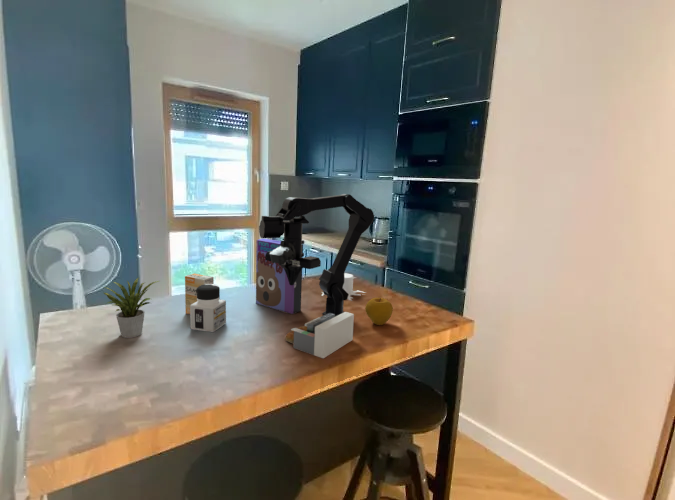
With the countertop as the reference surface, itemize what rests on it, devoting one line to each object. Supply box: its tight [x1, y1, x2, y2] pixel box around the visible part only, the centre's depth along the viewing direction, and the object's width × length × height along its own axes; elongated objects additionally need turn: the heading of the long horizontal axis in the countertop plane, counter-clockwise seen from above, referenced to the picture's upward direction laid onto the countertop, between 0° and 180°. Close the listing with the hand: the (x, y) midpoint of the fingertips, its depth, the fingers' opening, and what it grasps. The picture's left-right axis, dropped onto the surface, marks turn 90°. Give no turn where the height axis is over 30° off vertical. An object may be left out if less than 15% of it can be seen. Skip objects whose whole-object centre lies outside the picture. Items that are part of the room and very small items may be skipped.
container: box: [189, 284, 227, 333], centre depth 114 cm, size 8×8×13 cm
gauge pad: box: [304, 313, 335, 334], centre depth 106 cm, size 13×2×8 cm, turn 147°
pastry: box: [284, 325, 307, 345], centre depth 108 cm, size 9×7×4 cm
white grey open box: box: [290, 311, 355, 359], centre depth 106 cm, size 15×11×8 cm
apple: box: [364, 297, 394, 326], centre depth 123 cm, size 9×9×9 cm
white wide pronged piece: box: [321, 272, 366, 301], centre depth 156 cm, size 20×19×8 cm
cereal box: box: [255, 238, 304, 315], centre depth 133 cm, size 17×5×24 cm, turn 56°
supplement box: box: [184, 273, 215, 315], centre depth 124 cm, size 8×5×13 cm, turn 68°
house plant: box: [103, 277, 160, 339], centre depth 107 cm, size 14×14×16 cm
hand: (291, 285), depth 121 cm, fingers closed
